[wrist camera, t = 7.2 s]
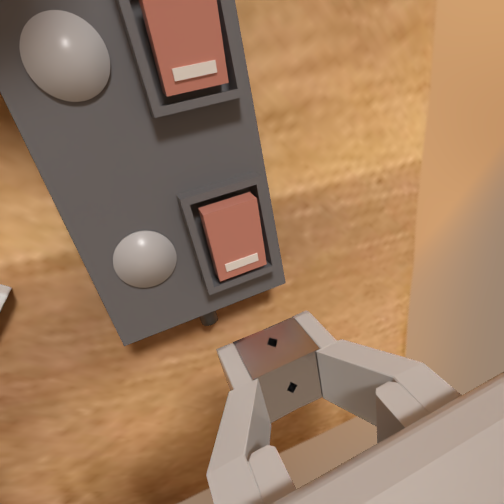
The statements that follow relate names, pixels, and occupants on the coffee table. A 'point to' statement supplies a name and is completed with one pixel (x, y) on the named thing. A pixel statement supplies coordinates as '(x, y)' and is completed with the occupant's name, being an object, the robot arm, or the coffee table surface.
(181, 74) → the rocker
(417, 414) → the robot arm
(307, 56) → the coffee table surface
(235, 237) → the rocker
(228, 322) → the coffee table surface
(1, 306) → the external hard drive
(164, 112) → the rocker switch box
